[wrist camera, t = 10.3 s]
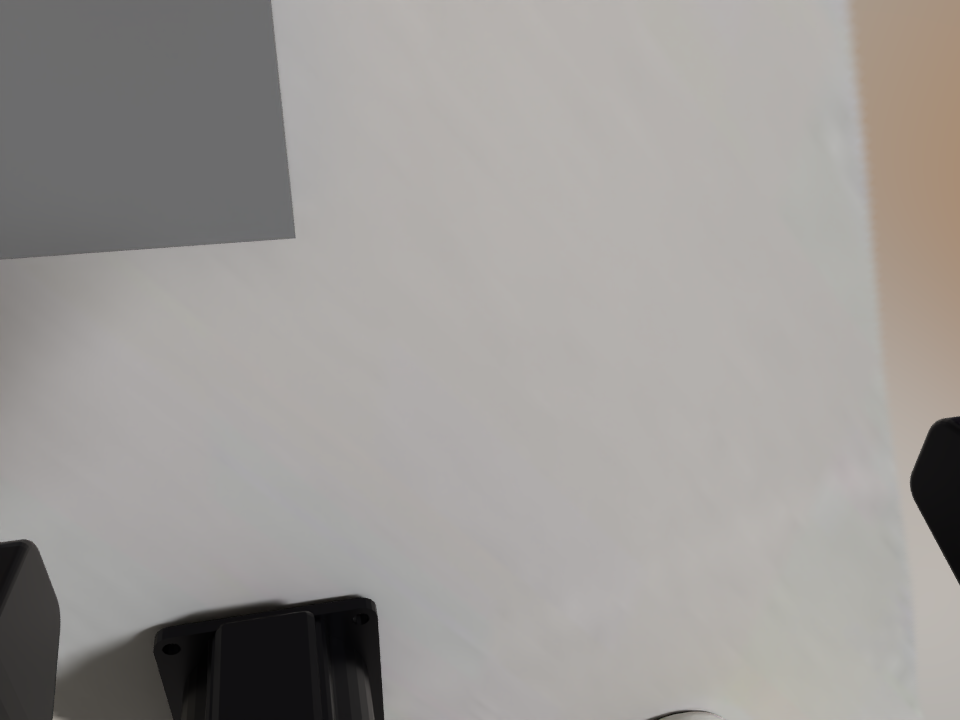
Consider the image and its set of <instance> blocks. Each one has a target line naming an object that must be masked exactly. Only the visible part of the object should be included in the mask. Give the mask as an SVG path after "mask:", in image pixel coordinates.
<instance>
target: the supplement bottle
mask: <svg viewBox="0 0 960 720" xmlns="http://www.w3.org/2000/svg"><path fill="white" fill-rule="evenodd" d="M659 720H725V719H723V718H722V717H720V716H718V715H715V714H712V713H708V712H697V711H696V712H686V713H680V714H674V715H670V716H667V717H664V718H661V719H659Z"/></svg>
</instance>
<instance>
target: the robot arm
mask: <svg viewBox="0 0 960 720" xmlns="http://www.w3.org/2000/svg"><path fill="white" fill-rule="evenodd" d="M910 488H911V492H912V496H913V498H914V501H915V502H916V504H917V506H918V508H919V510H920V512H921V514H922V516H923V517H924V519H925V521H926V523H927V525H928V527H929V529H930V530H931V532H932V534H933V536H934V538H935V540H936V542H937V543H938V545H939V547H940V549H941V551H942V553H943V555H944V557H945V558H946V560H947V562H948V564H949V566H950V568H951V570H952V572H953V573H954V575H955V577H956V579H957V581H958V583H959V584H960V416H959V417H952V418H945V419H941V420H938V421H936V422H935V423H934V424H933V425H932V426H931V428H930V430H929V432H928V434H927V437H926V439H925V442H924V444H923V447H922V449H921V451H920V454H919V456H918V459H917V461H916V463H915V466H914V468H913V471H912V474H911V478H910ZM59 636H60V609H59V604H58V600H57V597H56V594H55V592H54V589H53V586H52V584H51V581H50V579H49V576H48V573H47V571H46V568H45V565H44V563H43V560H42V557H41V555H40V552H39V550H38V548H37V547H36V545H35V544H34V543H33V542H32V541H29V540H23V539H22V540H15V541H7V542H0V720H52V718H53V707H54V695H55V683H56V671H57V660H58V648H59ZM154 655H155V659H156V662H157V665H158V669H159V672H160V675H161V679H162V682H163V686H164V689H165V692H166V696H167V699H168V702H169V706H170V709H171V712H172V716H173V719H174V720H384V710H383V694H382V678H381V662H380V647H379V631H378V616H377V609H376V605H375V602H373V601H372V600H371V599H368V598H355V599H349V600H342V601H336V602H329V603H323V604H316V605H310V606H303V607H297V608H290V609H284V610H277V611H271V612H264V613H258V614H251V615H245V616H238V617H232V618H225V619H219V620H212V621H206V622H199V623H192V624H186V625H179V626H173V627H168V628H164V629H162V630H160V631H159V632H158V633H157V634H156V636H155V640H154Z"/></svg>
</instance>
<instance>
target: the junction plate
mask: <svg viewBox="0 0 960 720" xmlns="http://www.w3.org/2000/svg"><path fill="white" fill-rule="evenodd" d="M291 238H295V227H294V217H293V207H292V197H291V188H290V178H289V169H288V159H287V150H286V140H285V131H284V121H283V112H282V102H281V93H280V83H279V74H278V64H277V55H276V45H275V35H274V26H273V16H272V7H271V0H0V259H13V258H27V257H41V256H55V255H68V254H82V253H96V252H110V251H124V250H138V249H152V248H166V247H180V246H193V245H207V244H221V243H235V242H249V241H263V240H277V239H291Z"/></svg>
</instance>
